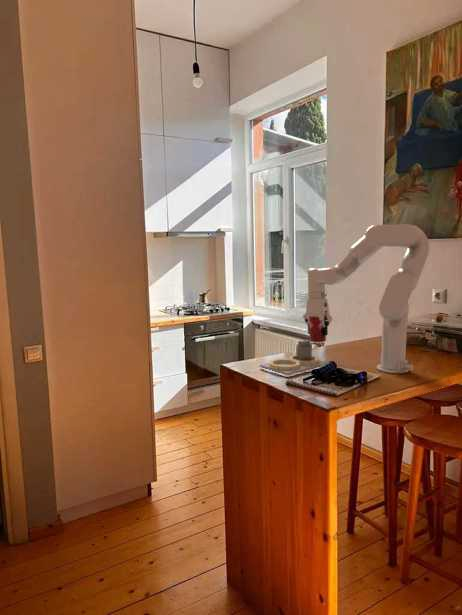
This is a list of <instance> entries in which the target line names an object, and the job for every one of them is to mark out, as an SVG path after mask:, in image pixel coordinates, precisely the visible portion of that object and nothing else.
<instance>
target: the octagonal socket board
mask: <svg viewBox="0 0 462 615" xmlns="http://www.w3.org/2000/svg"><path fill="white" fill-rule="evenodd" d="M327 363H328V364H329V361H328V362H327V361H324V360H320V358H319V357H318V356H316V355H313V354H312V360H311V361H299V360H296V354H294V355H290V356H288V358H274V359H271V360H269V362H266V363H262V364H259V368H260V367H262V368H265V369H269V370H272V371H275V372H278V373H282V374H285V375H291V374H294V373H298V372H303V371H306V370H310V369H314V368H317V367H320V366H322V365H324V364H327Z"/></svg>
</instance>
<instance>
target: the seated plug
mask: <svg viewBox="0 0 462 615" xmlns="http://www.w3.org/2000/svg"><path fill="white" fill-rule="evenodd" d="M295 350H296V351H295V353H296V354H295V355H296V360H299V361H311V360H312V355H313V352H312V351H313V345H312V344H311V342H310V339H309V340H308V339H303V340H298V341H297V344H296V349H295Z"/></svg>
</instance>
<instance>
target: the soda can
mask: <svg viewBox="0 0 462 615" xmlns="http://www.w3.org/2000/svg"><path fill="white" fill-rule="evenodd" d="M325 318H326V317H325ZM325 318H324V320H325ZM324 323H325V321H324ZM322 327H323V326H322V323H321V321H320V319H319V317H315V316H310V317H309V329H310V334H309V341H310V343H312V344H323V343H325V342H326V341H327V335H326V336H322Z"/></svg>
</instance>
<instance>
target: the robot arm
mask: <svg viewBox="0 0 462 615" xmlns="http://www.w3.org/2000/svg"><path fill="white" fill-rule="evenodd" d="M429 242H430V241H429V239H428V237H427V235H426V233H425V232H424V231H423V230H422V229H421V228H419V227H418V226H417V225H413V224H406V223H404V224H379V223H378V224H372V225H371V226H369V227H368V228H367V229H366V230H365V234H364V235H363V236H362V237H361V238H360V239H359V240H357V241H356V242H354V244H352V246H350V248H349V251H348V253H347V255H346V256H345V257H344V258H343V259H342V260H341V261H340V262H338V263H337V264H336V265H335V266H331V267H327V268H323V267H312V268H308V270H307V288H308V289H307V291H308V292H307V293H308V296H307V297H308V298H307V299H306V300H307V302H306V308H305V309H306V310H305V313H304V314H303V315H302V318H303V319H304V322H305V323H306V325H307V334H308V335H310V329H309V317H310V316H315V317H319V319H320V321H321V323H322V326H323V327H322V336H326V337H327V336H328V327H329V326H330V325H331V322H333V319H334V318H333V317H332V316H331V315H330V306H329V301H328V298H326V297H327V295H328V294H327V293H326V285H328V286H329V285H330V286H331V285H336V284H341V283H342V282H343V281H345V280H346V279H347V278H349V277H350V276H351V275H352V274H354V273H355V272H356V271H357V270H358V269H359V268H361V266H362V265H364V264H365V262H366V261H368V260H369V259H370V258H371V257H373V256H374V255H375V254H376V253H378V251H380V250H381V249H382V248H383V247H402V248H403V247H404V248H406V250H405V253H404V255H403V257H402V261H401V263H400V266H399V267H398V271H397V272H395V273H393V274H392V275H391V277H390V279H389V280H388V283H387V285H386V287H385V290H384V292H383V294H382V297H381V300H380V302H379V306H378V311H379V314H380V316H381V317H382V319H383V320H382V330H381V331H382V332H381V350H380V351H381V354H380V355H381V356H380V357H381V358H380V363H378V364H377V365H376V369H377V370H378V371H380V372H383V373H389V374H404V373H408V372H409V371H413V370H414V364H410V363H408V360H407V359H406V349H407V347H406V346H407V333H408V330H407V329H408V320H409V319H408V317H409V312H410V307H409V305H410V304H409V300H410V298H411V295H412V293H413V291H414V290H416V288H417V286H418V283H419V280H420V277H421V275H422V273H423V270H424V267H425V265H426V263H427V259H428V257H429V252H430V243H429ZM325 317H326V318H325ZM324 318H325V320H324ZM324 321H325V323H324Z"/></svg>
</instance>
